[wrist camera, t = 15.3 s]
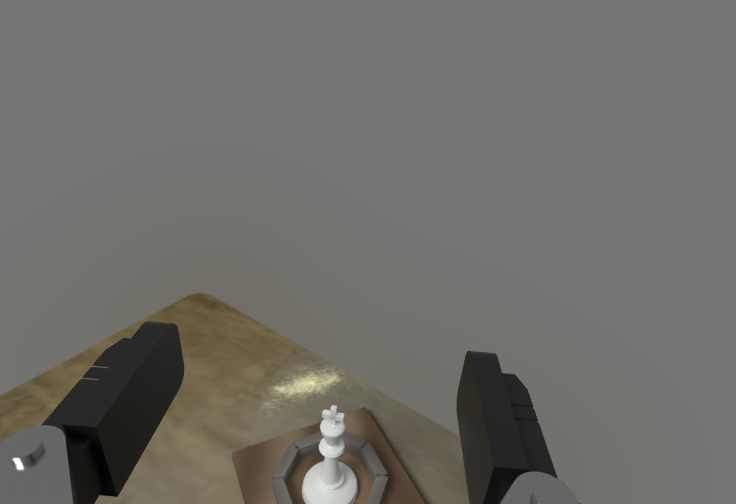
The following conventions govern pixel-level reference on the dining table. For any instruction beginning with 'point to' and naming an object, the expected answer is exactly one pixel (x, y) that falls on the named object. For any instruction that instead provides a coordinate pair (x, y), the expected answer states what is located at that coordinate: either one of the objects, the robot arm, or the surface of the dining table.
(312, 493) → the chess piece
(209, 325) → the dining table surface
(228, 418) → the dining table surface
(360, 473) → the board
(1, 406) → the dining table surface
